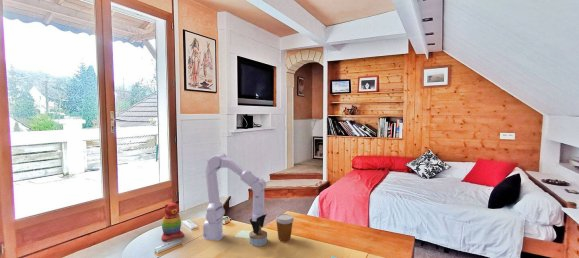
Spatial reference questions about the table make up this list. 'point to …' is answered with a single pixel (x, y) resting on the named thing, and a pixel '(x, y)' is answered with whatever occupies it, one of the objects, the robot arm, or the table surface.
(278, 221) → the disposable coffee cup
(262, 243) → the bowl
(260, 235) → the lid
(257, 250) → the table surface
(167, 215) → the stacking bear
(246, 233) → the mat
